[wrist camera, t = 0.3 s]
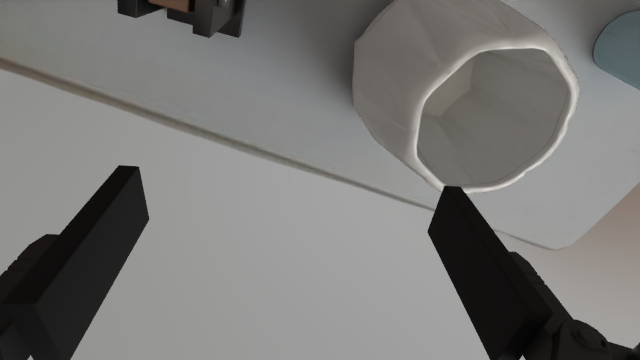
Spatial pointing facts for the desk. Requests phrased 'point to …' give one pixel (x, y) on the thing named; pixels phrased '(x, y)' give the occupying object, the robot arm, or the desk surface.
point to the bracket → (196, 15)
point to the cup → (620, 48)
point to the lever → (176, 4)
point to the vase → (463, 90)
